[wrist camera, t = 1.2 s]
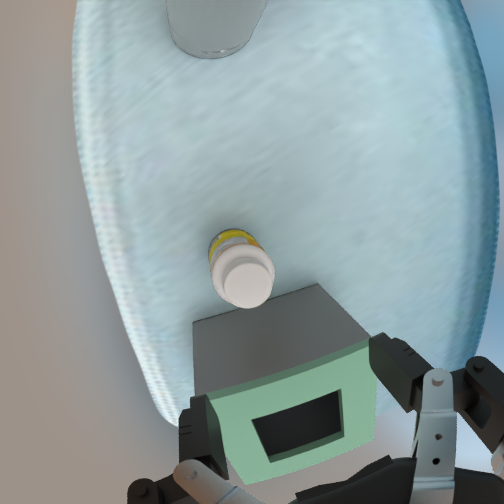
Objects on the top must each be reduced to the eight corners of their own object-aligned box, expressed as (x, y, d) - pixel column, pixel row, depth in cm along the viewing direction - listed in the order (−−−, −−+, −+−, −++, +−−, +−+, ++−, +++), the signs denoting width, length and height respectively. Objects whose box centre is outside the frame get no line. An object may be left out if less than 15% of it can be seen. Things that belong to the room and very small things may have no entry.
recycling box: (192, 322, 35) (195, 403, 22) (318, 283, 37) (376, 342, 23) (229, 408, 40) (245, 484, 27) (331, 375, 42) (373, 439, 28)
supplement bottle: (260, 270, 35) (286, 310, 25) (213, 279, 34) (221, 324, 24) (253, 222, 33) (278, 247, 23) (203, 232, 32) (207, 261, 23)
